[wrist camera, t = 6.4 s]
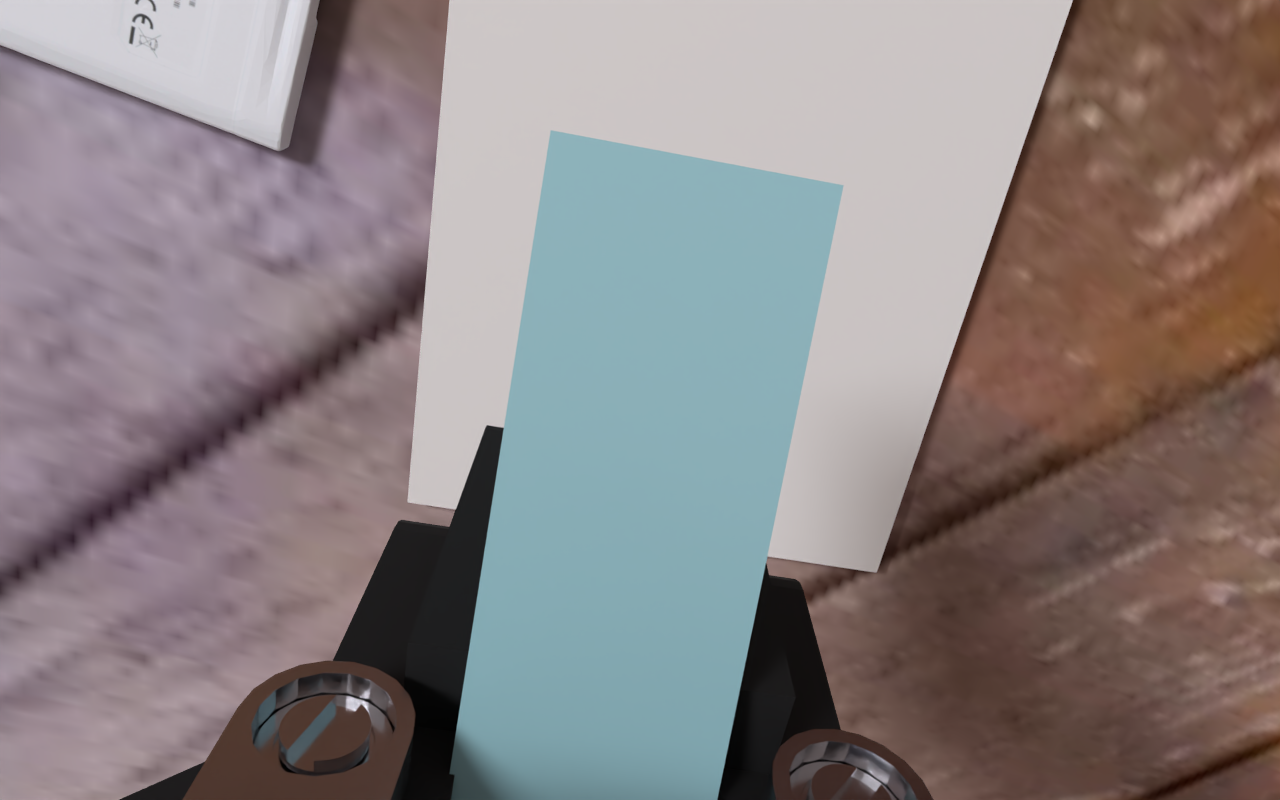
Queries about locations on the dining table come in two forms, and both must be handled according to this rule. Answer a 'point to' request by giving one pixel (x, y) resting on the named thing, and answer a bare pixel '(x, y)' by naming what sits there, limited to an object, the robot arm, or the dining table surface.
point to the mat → (756, 138)
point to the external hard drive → (180, 54)
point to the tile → (638, 472)
